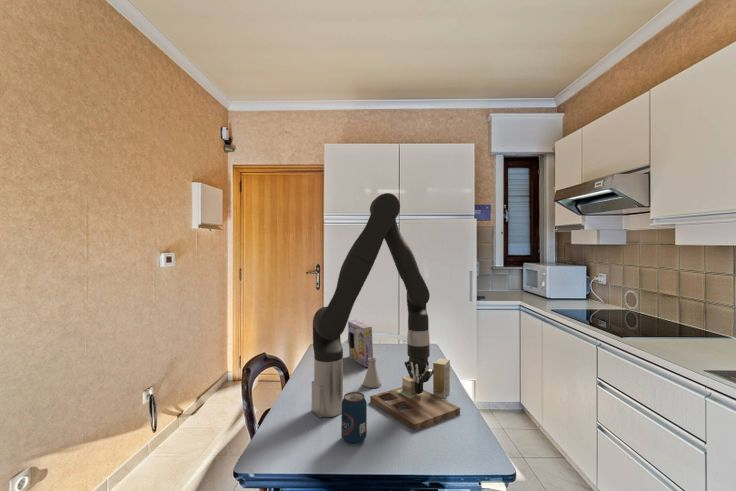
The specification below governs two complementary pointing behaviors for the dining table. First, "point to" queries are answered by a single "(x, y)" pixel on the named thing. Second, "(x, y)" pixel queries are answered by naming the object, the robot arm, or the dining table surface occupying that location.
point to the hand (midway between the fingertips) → (418, 392)
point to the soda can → (354, 418)
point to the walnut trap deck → (415, 407)
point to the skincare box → (441, 378)
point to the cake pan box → (360, 342)
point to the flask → (372, 375)
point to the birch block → (408, 385)
